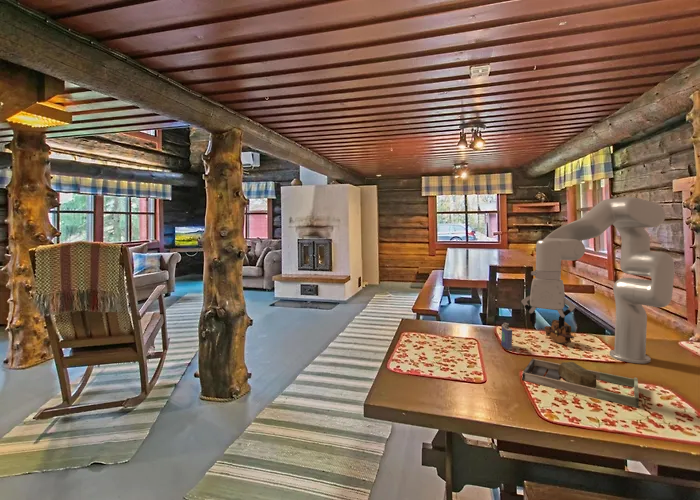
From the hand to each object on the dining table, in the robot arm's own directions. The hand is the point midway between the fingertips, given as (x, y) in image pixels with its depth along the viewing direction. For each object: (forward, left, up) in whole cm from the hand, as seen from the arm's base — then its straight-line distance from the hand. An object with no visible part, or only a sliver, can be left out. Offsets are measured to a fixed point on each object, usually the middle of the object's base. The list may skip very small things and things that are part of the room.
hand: (546, 325), depth 120 cm
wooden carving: (-43, -2, -18) cm, 47 cm away
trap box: (0, +10, -18) cm, 20 cm away
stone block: (0, +9, -18) cm, 20 cm away
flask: (-23, -19, -18) cm, 35 cm away
